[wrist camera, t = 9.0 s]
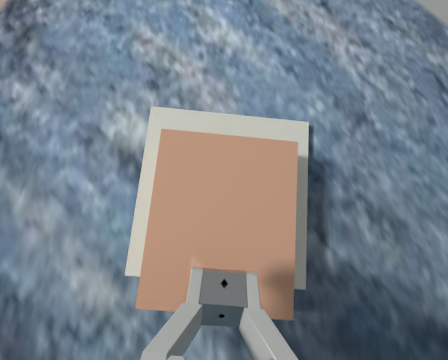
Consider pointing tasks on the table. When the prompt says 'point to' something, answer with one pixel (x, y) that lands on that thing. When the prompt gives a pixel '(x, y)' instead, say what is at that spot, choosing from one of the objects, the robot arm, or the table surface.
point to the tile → (221, 217)
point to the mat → (225, 126)
